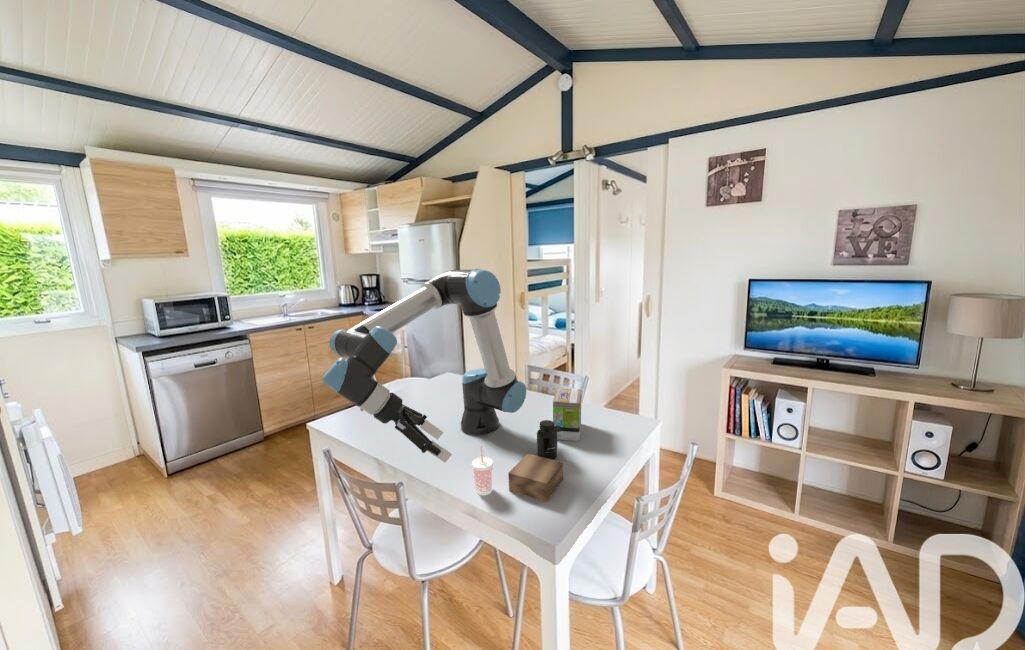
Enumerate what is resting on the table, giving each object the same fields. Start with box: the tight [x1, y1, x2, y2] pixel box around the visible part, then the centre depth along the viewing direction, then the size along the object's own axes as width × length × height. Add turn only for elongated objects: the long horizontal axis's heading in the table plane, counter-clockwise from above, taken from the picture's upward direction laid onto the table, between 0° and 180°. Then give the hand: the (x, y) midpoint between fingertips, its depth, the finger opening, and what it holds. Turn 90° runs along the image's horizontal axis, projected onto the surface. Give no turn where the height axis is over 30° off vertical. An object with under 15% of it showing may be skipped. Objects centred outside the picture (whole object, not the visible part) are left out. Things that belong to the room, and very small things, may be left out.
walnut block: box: [507, 453, 564, 503], centre depth 116 cm, size 12×12×6 cm
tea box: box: [552, 387, 582, 441], centre depth 148 cm, size 15×10×15 cm, turn 168°
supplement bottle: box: [536, 419, 558, 460], centre depth 131 cm, size 7×7×12 cm
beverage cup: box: [471, 445, 494, 496], centre depth 113 cm, size 6×6×14 cm
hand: (444, 446), depth 108 cm, fingers open, 13 cm apart
